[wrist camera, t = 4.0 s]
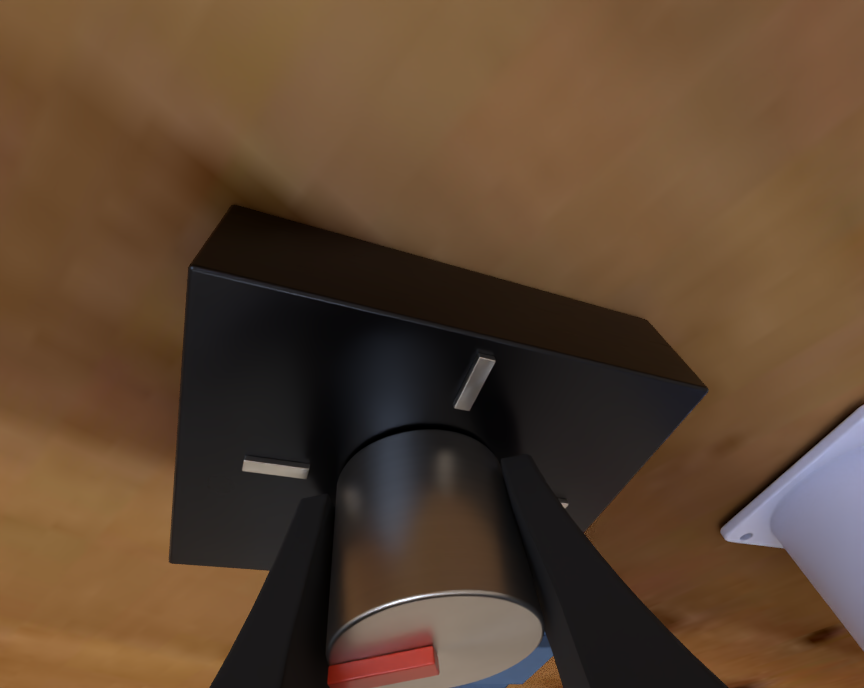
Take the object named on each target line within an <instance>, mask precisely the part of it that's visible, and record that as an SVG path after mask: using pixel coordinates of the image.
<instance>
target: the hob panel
mask: <svg viewBox="0 0 864 688" xmlns="http://www.w3.org/2000/svg"><path fill="white" fill-rule="evenodd" d="M707 393H708V388H707V387H706V385H705V384H704V383H703V382H702V381H701V380H700V379H699V378H698V377H697V375H696V374H695V373H694V372H693V371H692V370H691V369H690V368H689V366H688V365H687V364H686V363H685V362H684V361H683V360H682V359H681V357H680V356H679V355H678V354H677V353H676V352H675V351H674V350H673V349H672V347H671V346H670V345H669V344H668V343H667V342H666V341H665V340H664V338H663V337H662V336H661V335H660V334H659V333H658V332H657V331H656V329H655V328H654V327H653V326H652V325H651V324H650V323H649V322H648V321H647V320H645V319H641V318H638V317H634V316H630V315H627V314H623V313H620V312H616V311H613V310H609V309H605V308H602V307H598V306H595V305H591V304H588V303H584V302H580V301H577V300H573V299H570V298H566V297H563V296H559V295H555V294H552V293H548V292H545V291H541V290H538V289H534V288H530V287H527V286H523V285H520V284H516V283H512V282H509V281H505V280H502V279H498V278H495V277H491V276H487V275H484V274H480V273H477V272H473V271H470V270H466V269H462V268H459V267H455V266H452V265H448V264H445V263H441V262H437V261H434V260H430V259H427V258H423V257H420V256H416V255H412V254H409V253H405V252H402V251H398V250H395V249H391V248H387V247H384V246H380V245H377V244H373V243H369V242H366V241H362V240H359V239H355V238H352V237H348V236H344V235H341V234H337V233H334V232H330V231H327V230H323V229H319V228H316V227H312V226H309V225H305V224H302V223H298V222H294V221H291V220H287V219H284V218H280V217H277V216H273V215H269V214H266V213H262V212H259V211H255V210H251V209H248V208H244V207H241V206H237V205H231V207H230V208H229V210H228V211H227V213H226V214H225V215H224V217H223V218H222V220H221V221H220V223H219V224H218V225H217V227H216V228H215V230H214V231H213V233H212V234H211V235H210V237H209V238H208V240H207V241H206V243H205V244H204V245H203V247H202V248H201V250H200V251H199V253H198V254H197V255H196V257H195V258H194V260H193V261H192V263H191V264H190V265H189V267H188V278H187V293H186V308H185V323H184V338H183V353H182V368H181V383H180V398H179V413H178V428H177V443H176V458H175V473H174V488H173V504H172V519H171V534H170V549H169V562H170V563H172V564H185V565H199V566H213V567H227V568H241V569H255V570H269V571H270V570H271V567H272V565H273V563H274V561H275V558H276V556H277V554H278V552H279V549H280V547H281V545H282V542H283V540H284V538H285V535H286V533H287V531H288V528H289V526H290V523H291V521H292V518H293V516H294V513H295V511H296V508H297V506H298V503H299V502H300V500H301V499H302V498H307V497H312V496H317V495H322V494H327V493H328V495H329V497H330V499H331V501H332V503H333V505H334V507H335V506H336V492H337V482H338V479H339V476H340V474H341V472H342V470H343V468H344V467H345V465H346V464H347V463H348V461H349V460H350V459H351V458H352V457H353V456H354V455H355V454H356V453H358V452H359V451H360V450H361V449H363V448H364V447H366V446H367V445H369V444H371V443H373V442H375V441H377V440H379V439H381V438H384V437H387V436H389V435H392V434H396V433H400V432H404V431H411V430H419V429H440V430H448V431H453V432H457V433H461V434H464V435H467V436H470V437H472V438H474V439H476V440H478V441H479V442H481V443H482V444H483V445H485V446H486V447H487V448H488V449H489V450H490V451H491V452H492V453H493V454H494V455H495V457H496V458H497V460H498V462H499V464H500V467H501V470H502V466H501V459H502V458H507V457H512V456H517V455H522V454H529V455H531V456H532V458H533V460H534V461H535V463H536V465H537V467H538V468H539V470H540V472H541V474H542V475H543V477H544V478H545V480H546V482H547V483H548V485H549V486H550V488H551V489H552V491H553V492H554V494H555V495H556V497H557V498H558V499H559V501H560V502H561V504H562V505H563V507H564V508H565V509H566V511H567V512H568V513H569V515H570V516H571V518H572V519H573V520H574V522H575V523H576V524H577V525H578V527H579V528H580V529H581V531H582V532H583V533H584V532H585V531H586V530H587V529H588V528H589V526H590V525H591V524H592V523H593V522H594V521H595V520H596V518H597V517H598V516H599V515H600V514H601V513H602V512H603V511H604V509H605V508H606V507H607V506H608V505H609V504H610V503H611V501H612V500H613V499H614V498H615V497H616V496H617V495H618V494H619V492H620V491H621V490H622V489H623V488H624V487H625V486H626V484H627V483H628V482H629V481H630V480H631V479H632V478H633V477H634V475H635V474H636V473H637V472H638V471H639V470H640V469H641V467H642V466H643V465H644V464H645V463H646V462H647V461H648V460H649V458H650V457H651V456H652V455H653V454H654V453H655V452H656V450H657V449H658V448H659V447H660V446H661V445H662V444H663V443H664V441H665V440H666V439H667V438H668V437H669V436H670V435H671V433H672V432H673V431H674V430H675V429H676V428H677V427H678V426H679V424H680V423H681V422H682V421H683V420H684V419H685V418H686V416H687V415H688V414H689V413H690V412H691V411H692V410H693V409H694V407H695V406H696V405H697V404H698V403H699V402H700V401H701V399H702V398H703V397H704V396H705V395H706V394H707Z"/></svg>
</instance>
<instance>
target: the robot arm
mask: <svg viewBox="0 0 864 688" xmlns="http://www.w3.org/2000/svg"><path fill="white" fill-rule="evenodd" d="M501 466H502V474H503V479H504V482H505V486H506V489H507V493H508V497H509V500H510V504H511V507H512V511H513V514H514V517H515V520H516V523H517V526H518V530H519V533H520V537H521V540H522V544H523V547H524V551H525V554H526V558H527V561H528V565H529V568H530V572H531V575H532V579H533V582H534V586H535V589H536V592H537V596H538V599H539V603H540V606H541V610H542V613H543V617H544V621H545V633H546V636H547V639H548V641H549V644H550V647H551V650H552V653H553V656H554V659H555V662H556V665H557V668H558V671H559V675H560V678H561V681H562V685H563V688H728V687H727V686H726V685H725V684H724V683H723V682H722V681H721V680H720V679H719V678H718V677H717V676H716V675H714V674H713V673H712V672H711V671H710V670H709V669H708V668H707V667H706V666H705V665H704V664H703V663H702V662H701V661H699V660H698V659H697V658H696V657H695V656H694V655H693V654H692V653H691V652H690V651H689V650H688V649H687V648H686V647H685V646H684V645H683V644H682V643H681V642H680V641H679V640H678V639H677V638H676V637H675V636H674V635H673V634H672V633H671V632H670V631H669V630H668V629H667V628H666V627H665V626H664V625H663V624H662V623H661V622H660V621H659V619H658V618H657V617H656V616H655V615H654V614H653V613H652V612H651V611H650V610H649V609H648V608H647V607H646V606H645V605H644V604H643V603H642V602H641V600H640V599H639V598H638V597H637V596H636V595H635V594H634V593H633V592H632V591H631V589H630V588H629V587H628V586H627V585H626V584H625V583H624V582H623V580H622V579H621V578H620V577H619V576H618V575H617V573H616V572H615V571H614V570H613V569H612V568H611V566H610V565H609V564H608V563H607V562H606V561H605V559H604V558H603V557H602V556H601V555H600V553H599V552H598V551H597V550H596V548H595V547H594V546H593V545H592V543H591V542H590V541H589V540H588V538H587V537H586V536H585V534H584V533H583V532H582V531H581V529H580V528H579V527H578V525H577V524H576V523H575V522H574V520H573V519H572V518H571V516H570V515H569V513H568V512H567V511H566V509H565V508H564V507H563V505H562V504H561V502H560V501H559V499H558V498H557V497H556V495H555V494H554V492H553V491H552V489H551V488H550V486H549V485H548V483H547V482H546V480H545V478H544V477H543V475H542V474H541V472H540V470H539V468H538V467H537V465H536V463H535V461H534V460H533V458H532V456H531V455H529V454H522V455H517V456H512V457H507V458H502V459H501ZM334 521H335V507H334V505H333V503H332V501H331V499H330V497H329V495H328V493H327V494H322V495H317V496H312V497H307V498H302V499H301V500H300V502H299V503H298V506H297V508H296V511H295V513H294V516H293V518H292V521H291V523H290V526H289V528H288V531H287V533H286V535H285V538H284V540H283V542H282V545H281V547H280V549H279V552H278V554H277V556H276V558H275V561H274V563H273V565H272V567H271V570H270V572H269V574H268V576H267V578H266V580H265V582H264V584H263V587H262V589H261V591H260V593H259V595H258V597H257V599H256V601H255V604H254V606H253V608H252V610H251V612H250V614H249V615H248V617H247V619H246V621H245V623H244V625H243V627H242V629H241V631H240V633H239V635H238V637H237V639H236V640H235V642H234V644H233V646H232V648H231V650H230V652H229V654H228V656H227V658H226V659H225V661H224V663H223V665H222V666H221V668H220V670H219V672H218V674H217V675H216V677H215V679H214V681H213V682H212V684H211V686H210V688H330V687H329V686H328V684H327V680H328V667H329V664H328V662H327V658H326V639H327V624H328V609H329V595H330V580H331V565H332V551H333V536H334ZM720 533H721V534H722V536H723V537H724V539H725V540H726V541H729V542H736V543H744V544H752V545H760V546H769V547H777V548H785V550H786V551H787V552H788V554H789V555H790V556H791V557H792V559H793V560H794V561H795V563H796V564H797V565H798V567H799V568H800V569H801V570H802V572H803V573H804V574H805V576H806V577H807V578H808V580H809V581H810V582H811V583H812V585H813V586H814V587H815V589H816V590H817V591H818V593H819V594H820V595H821V596H822V598H823V599H824V600H825V602H826V603H827V604H828V606H829V607H830V608H831V609H832V611H833V612H834V613H835V615H836V616H837V617H838V619H839V620H840V621H841V622H842V624H843V625H844V626H845V628H846V629H847V630H848V632H849V633H850V634H851V635H852V637H853V638H854V639H855V641H856V642H857V643H858V645H859V646H860V647H861V648H862V650H863V651H864V405H862V406H860V407H859V408H858V409H856V410H855V411H854V412H853V413H852V414H851V415H850V416H848V417H847V418H846V419H845V420H844V421H843V422H842V423H840V424H839V425H838V426H837V427H836V428H835V429H834V430H832V431H831V432H830V433H829V434H828V435H827V436H826V437H824V438H823V439H822V440H821V441H820V442H819V443H818V444H816V445H815V446H814V447H813V448H812V449H811V450H810V451H808V452H807V453H806V454H805V455H804V456H803V457H802V458H800V459H799V460H798V461H797V462H796V463H795V464H794V465H792V466H791V467H790V468H789V469H788V470H787V471H786V472H784V473H783V474H782V475H781V476H780V477H779V478H778V479H776V480H775V481H774V482H773V483H772V484H771V485H770V486H768V487H767V488H766V489H765V490H764V491H763V492H762V493H760V494H759V495H758V496H757V497H756V498H755V499H754V500H752V501H751V502H750V503H749V504H748V505H747V506H746V507H744V508H743V509H742V510H741V511H740V512H739V513H738V514H736V515H735V516H734V517H733V518H732V519H731V520H730V521H728V522H727V523H726V524H725V525H724V526H723V527H722V528H721V531H720Z"/></svg>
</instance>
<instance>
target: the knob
mask: <svg viewBox="0 0 864 688" xmlns="http://www.w3.org/2000/svg"><path fill="white" fill-rule="evenodd" d="M544 630H545V621H544V617H543V613H542V610H541V606H540V603H539V599H538V596H537V592H536V589H535V586H534V582H533V579H532V575H531V572H530V568H529V565H528V561H527V558H526V554H525V551H524V547H523V544H522V540H521V537H520V533H519V530H518V526H517V523H516V520H515V517H514V514H513V511H512V507H511V504H510V500H509V497H508V493H507V489H506V486H505V482H504V479H503V474H502V470H501V467H500V464H499V462H498V460H497V458H496V457H495V455H494V454H493V453H492V452H491V451H490V450H489V449H488V448H487V447H486V446H485V445H483V444H482V443H481V442H479V441H478V440H476V439H474V438H472V437H470V436H467V435H464V434H461V433H457V432H453V431H448V430H440V429H419V430H411V431H404V432H400V433H396V434H392V435H389V436H387V437H384V438H381V439H379V440H377V441H375V442H373V443H371V444H369V445H367V446H366V447H364V448H363V449H361V450H360V451H359V452H358V453H356V454H355V455H354V456H353V457H352V458H351V459H350V460H349V461H348V463H347V464H346V465H345V467H344V468H343V470H342V472H341V474H340V476H339V479H338V482H337V492H336V506H335V521H334V536H333V551H332V565H331V580H330V595H329V609H328V624H327V639H326V658H327V662H328V664H329V667H328V680H327V684H328V686H329V687H330V688H450V687H456V686H460V685H465V684H468V683H472V682H476V681H479V680H482V679H485V678H488V677H490V676H493V675H495V674H498V673H500V672H502V671H504V670H506V669H508V668H510V667H512V666H514V665H515V664H517V663H519V662H520V661H522V660H523V659H525V658H526V657H527V656H528V655H530V654H531V653H532V652H533V651H534V650H535V649H536V648H537V647H538V645H539V644H540V642H541V641H542V638H543V636H544Z"/></svg>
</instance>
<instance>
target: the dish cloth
mask: <svg viewBox="0 0 864 688" xmlns="http://www.w3.org/2000/svg"><path fill="white" fill-rule="evenodd" d="M552 656H553V653H552V650H551V647H550V644H549V641H548V639H547V636H546V633H545V630H544V636H543V638H542V641H541V642H540V644H539V645H538V647H537V648H536V649H535V650H534V651H533V652H532V653H531V654H530V655H528V656H527V657H526V658H525V659H523V660H522V661H520V662H519V663H517V664H515V665H514V666H512V667H510V668H508V669H506V670H504V671H502V672H500V673H498V674H495V675H493V676H490V677H488V678H485V679H482V680H479V681H476V682H472V683H468V684H465V685H460V686H456V687H450V688H506V687H507V686H508V685H509V684H523V683H524V682H525V681H526V680H527V679H528V678H530V677H531V676H532V675H533V674H534V673H535V672H536V671H537V670H538V669H539V668H540V667H541V666H543V665H544V664H545V663H546V662H547V661H548V660H549V659H550V658H551V657H552Z"/></svg>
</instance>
